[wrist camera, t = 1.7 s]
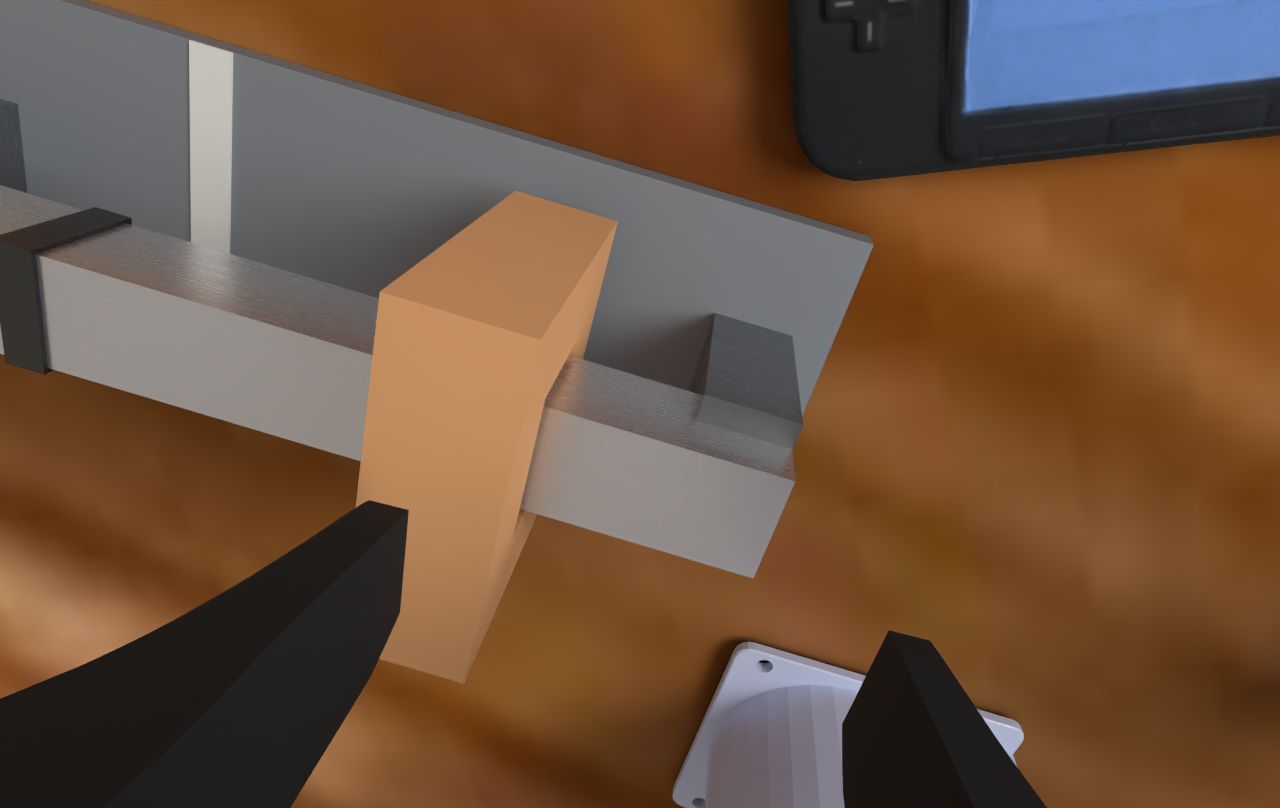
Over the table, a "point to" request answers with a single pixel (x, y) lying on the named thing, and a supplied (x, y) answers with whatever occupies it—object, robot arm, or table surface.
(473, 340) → the collar
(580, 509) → the grey rail plate
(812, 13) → the handheld game console
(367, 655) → the robot arm
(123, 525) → the table surface
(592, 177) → the board
